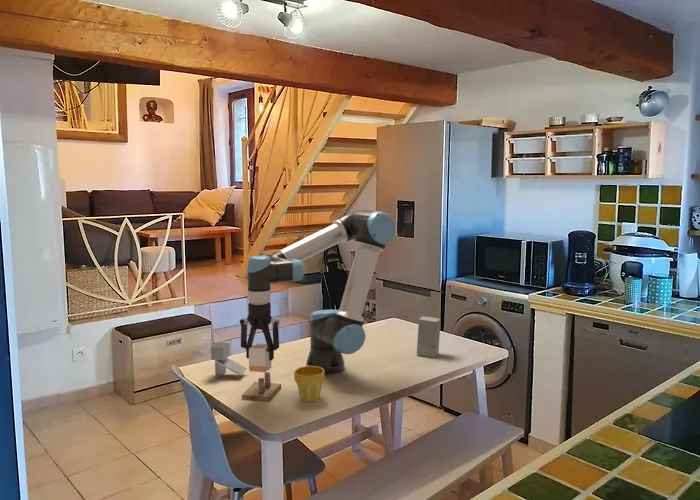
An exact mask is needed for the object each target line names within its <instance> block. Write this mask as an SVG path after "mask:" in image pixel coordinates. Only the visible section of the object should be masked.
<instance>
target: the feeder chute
mask: <svg viewBox="0 0 700 500" xmlns="http://www.w3.org/2000/svg"><path fill="white" fill-rule="evenodd" d="M230 345H231V343H230V342H221V341H217V342H215V343H214V344H212V345H211V346H210V360H212V361H214V374H215V376H214V377H215V379H220V378H221V377H223V376H224V375H225V374H226V373H227V370H228V371H231V372H232V373H234V374H236V375H238V376H241V375H242V374H243V373H245V372H246V371H247V367H245V366H243V365H241V364H239V363H238V362H236V361H234V360H233V359H230V358H229V357H230V356H231V346H230Z"/></svg>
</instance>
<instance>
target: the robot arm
mask: <svg viewBox="0 0 700 500" xmlns="http://www.w3.org/2000/svg"><path fill="white" fill-rule="evenodd" d="M396 228H397V227H396V222H395V221H394V218H393V217H392V216H391V215H390V214H389V213H386V212H385V211H380V210H368V209H357V210H354V211H352V212H349V213H346V215H342V216H341V217H339V218H337V219H335V220H333V221H332V224H330V225H328V226H326V227H324V228H323V229H320V230H318V231H316V232H314V233H312V234H310V235H308V236H307V237H304V238H302V239H300V240H298V241H296V242H294V243H292V244H290V245H287V246H286V247H284V248H282V249H280V250H278V251H275V252H273V253H271V254H270V253H267V254H261V255H253V256H250V257H249V258H248V259H247V269H246V270H247V271H246V272H247V302H248V304H247V309H248V310H247V313H248V314H247V317H243V318H241V319H239V324H240V348H244V349H245V354H246V359H247V360H249V348H250V347H251V346H253V343H254V339H255V336H256V333H257V330H260V331H261V332H262V333H263V335H264V341H265V344H267V347H268V351H267V352H266V358H267V371H270V370H271V369H272V361H273V360H274V359H275V358H274V357H275V351H277V350H278V349H279V348H280V335H279V325H280V323H281V321H280V320H279V319H277V320H276V319H274V318H273V317H272V312H271V311H272V309H271V308H272V304H271V298H272V297H271V296H272V295H271V284H272V285H273V284H281V283H294V282H298V281H301V280H302V279H303V277H304V275H305V270H304V269H305V267H304V264H303V262H304V261H306V260H308V259H310V258H313V257H314V256H316V255H318V254H320V253H322V252H324V251H326V250H327V249H330V248H332V247H334V246H336V245H337V244H339V243H342V244H345V243H348V242H350V241H353V240H354V245H355V246H356V249H355V253H354V256H353V260H352V264H351V267H350V270H349V273H348V278H347V281H346V285H345V289H344V290H343V291H344V292H343V295H342V299H341V302H340V304H339V305H340V307H339V309H321V310H315V311H313V312H311V314H310V317H309V327H310V328H309V330H310V331H309V333H310V336H309V337H310V350H309V353H308V357H307V360H306V366H317V367H321V368H323V369H324V371H325V375H330V374H337V373H339V372H341V371H343V370H344V369H345V359H344V356H343V355H353V354H355V353H356V352H358V351H359V350H361V348H362V347H363V345H364V343H365V340H366V336H367V335H366V332H365V330H364V328H363V325H364V322H365V320H364V318H363V316H362V315H363V311H364V307H365V304H366V301H367V297H368V294H369V290H370V287H371V283H372V280H373V277H374V273H375V269H376V266H377V262H378V258H379V254H380V253H382V252H384V251H385V248H386V244H389V243H390V242H392V241H393V240H394V238H395V236H396V233H397V232H396V230H397V229H396ZM248 323H249V324H250V329H249V335H248ZM270 324H271V327H272V336H271V332H270ZM248 369H249V370H250V367H249V366H248Z"/></svg>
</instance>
